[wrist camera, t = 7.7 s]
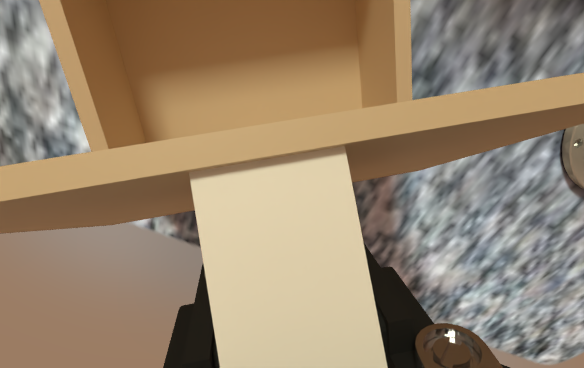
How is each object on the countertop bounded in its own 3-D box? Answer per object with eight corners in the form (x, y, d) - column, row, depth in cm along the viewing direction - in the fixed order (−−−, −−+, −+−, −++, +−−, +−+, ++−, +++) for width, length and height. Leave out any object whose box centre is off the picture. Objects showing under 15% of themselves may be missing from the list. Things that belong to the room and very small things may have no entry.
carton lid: (746, 46, 7) (816, 292, 7) (416, 161, 23) (431, 236, 23) (-353, 223, 6) (-338, 552, 5) (109, 215, 21) (121, 296, 21)
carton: (360, -65, 26) (407, -120, 18) (372, 143, 31) (413, 167, 24) (84, -32, 24) (13, -76, 17) (148, 181, 30) (115, 220, 22)
